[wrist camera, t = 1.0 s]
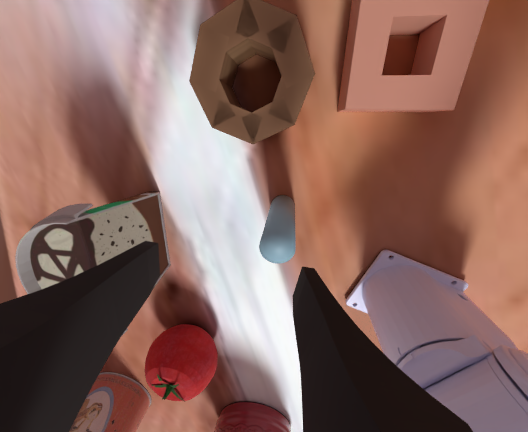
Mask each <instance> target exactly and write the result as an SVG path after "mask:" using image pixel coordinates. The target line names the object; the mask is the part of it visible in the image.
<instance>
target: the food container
mask: <svg viewBox="0 0 528 432" xmlns="http://www.w3.org/2000/svg"><path fill="white" fill-rule="evenodd" d="M92 206H93V205H92V204H75V205H69V206H66V207H64V208H61V209H59V210H57V211H56V212H54V213H52V214H51V215H49V216H48V217H46V218H44V219H43V220H41V221H40V222H38V223H37V224H35V225H34V226H33V227H32V228H31V229H30V231H29V232H27V233H26V234H25V235H24V236H23V238H22V239H21V240H20V242H19V244H18V247H17V251H16V268H17V272H18V275H19V278H20V280H21V283H22V285H23V287H24V288H25V290H26V292H27V294H30V293H33V292H36V291H39V290H41V289H44V288H46V287H49V286H52V285H54V284H57V283H59V282H62V281H64V280H66V279H69V278H71V277H73V276H76V275H78V274H80V273H82V272H84V271H86V270H88V269H90V268H93V267H95V266H97V265H99V264H101V263H103V262H105V261H107V260H109V259H111V258H113V257H115V256H117V255H119V254H121V253H123V252H125V251H126V250H128V249H130V248H132V247H134V246H136V245H138V244H140V243H142V242H144V241H150V242H156V243H158V246H159V264H160V276H159V278H158V280H157V282H156V284H157V283H158V281H159V280H160V279H161V277H162V276H163V275H164V273H165V272H166V271H167V269H168V268H169V267H170V265H171V264H170V257H169V250H168V244H167V237H166V230H165V223H164V217H163V210H162V203H161V197H160V192H147V193H144V194H141V195H137V196H134V197H130V198H127V199H123V200H120V201H117V202H113V203H110V204H106V205H103V206H100V207H96V208H93V209H89V208H90V207H92ZM87 209H89V210H87ZM156 284H155V285H156ZM154 287H155V286H154ZM127 330H128V329H126V330H125V331H124V333H125V332H126V331H127ZM124 333H123V334H124ZM123 334H122V335H123Z"/></svg>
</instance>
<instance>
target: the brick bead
mask: <svg viewBox="0 0 528 432" xmlns="http://www.w3.org/2000/svg"><path fill="white" fill-rule="evenodd" d="M488 3H489V0H352V4H351V12H350V19H349V27H348V35H347V42H346V50H345V57H344V65H343V73H342V80H341V88H340V96H339V103H338V111H337V112H437V111H448V110H454V109H455V106H456V103H457V100H458V96H459V93H460V90H461V87H462V84H463V81H464V78H465V75H466V71H467V68H468V65H469V62H470V59H471V56H472V53H473V50H474V46H475V43H476V40H477V37H478V34H479V31H480V28H481V25H482V21H483V18H484V15H485V12H486V9H487V6H488ZM408 34H420V36H419V41H418V45H417V49H416V53H415V58H414V62H413V66H412V70H411V75H382V72H383V67H384V61H385V56H386V51H387V46H388V40H389V35H408Z"/></svg>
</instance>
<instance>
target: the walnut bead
mask: <svg viewBox="0 0 528 432" xmlns="http://www.w3.org/2000/svg"><path fill="white" fill-rule="evenodd" d="M256 54H257V55H260V56H262V57H265V58H267V59H269V60H272V61H274V62H276V64H277V67H278V69H279V72H280V75H281V79H280V82H279V85H278V88H277V91H276V94H275V97H274V99H273V102H271V103H269V104H267V105H265V106H264V107H262V108H260V109H258V110H256V111H254V112H251V111H249V110H246V109H244V108H241V106H240V104H239V102H238V99H237V97H236V95H235V93H234V90H233V88H232V86H233V82H234V79H235V75H236V71H237V68H238V65H239V64H241V63H242V62H244V61H246V60H247V59H249V58H251V57H253V56H254V55H256ZM314 75H315V72H314V69H313V66H312V62H311V59H310V56H309V53H308V50H307V47H306V43H305V40H304V37H303V34H302V31H301V28H300V24H299V21H298V18H297V15H295V14H292V13H290V12H288V11H285V10H283V9H281V8H278V7H276V6H274V5H271V4H269V3H267V2H265V1H262V0H236V1H234V2H233V3H231V4H230V5H228V6H227V7H225V8H224V9H222V10H221V11H220V12H218V13H217V14H215V15H214V16H212V17H211V18H209V19H208V20H206V21H205V22H204V23H202V24H201V25H200V29H199V34H198V39H197V45H196V50H195V55H194V60H193V65H192V71H191V76H190V83H191V85H192V87H193V90H194V92H195V94H196V96H197V98H198V100H199V102H200V104H201V106H202V108H203V110H204V112H205V114H206V116H207V118H208V120H209V122H210V124H211V126H212V128H214V129H217V130H219V131H222V132H224V133H227V134H229V135H231V136H234V137H236V138H239V139H241V140H244V141H246V142H248V143H251V144H255V143H257V142H259V141H261V140H263V139H265V138H268V137H270V136H272V135H274V134H276V133H278V132H280V131H282V130H284V129H287V128H289V127H291V126H293V125H294V124H295V122H296V119H297V117H298V114H299V112H300V109H301V107H302V104H303V102H304V100H305V97H306V95H307V92H308V90H309V87H310V85H311V82H312V80H313V77H314Z"/></svg>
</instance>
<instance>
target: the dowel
mask: <svg viewBox="0 0 528 432" xmlns="http://www.w3.org/2000/svg"><path fill="white" fill-rule="evenodd" d="M259 248H260V252H261V254H262V256H263V257H264V258H265V259H266V260H268V261H270V262H272V263H284V262H287V261H289V260H290V259H291V258H292V257H293V255H294V253H295V204H294V201H293V200H292V199H291V198H290V197H288V196H286V195H280V196H277V197H275V198H274V199H273V201H272V203H271V206H270V210H269V213H268V217H267V220H266V224H265V227H264V231H263V234H262V238H261V241H260V246H259Z"/></svg>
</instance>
